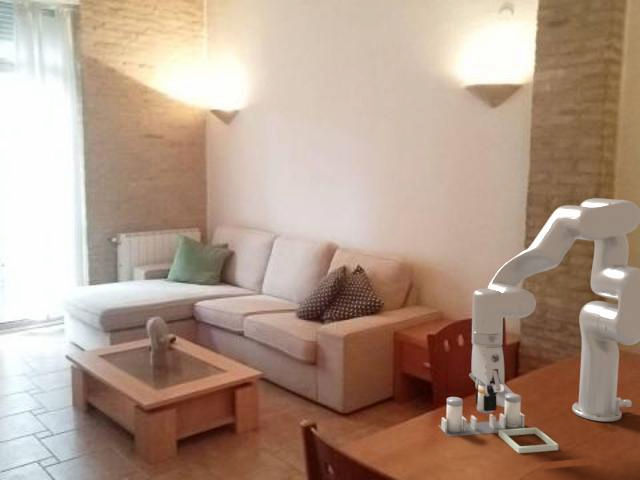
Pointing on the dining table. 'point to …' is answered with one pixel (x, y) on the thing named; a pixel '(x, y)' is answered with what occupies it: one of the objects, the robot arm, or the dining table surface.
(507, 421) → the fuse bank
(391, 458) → the dining table surface
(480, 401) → the cylinder
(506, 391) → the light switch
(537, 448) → the tray
